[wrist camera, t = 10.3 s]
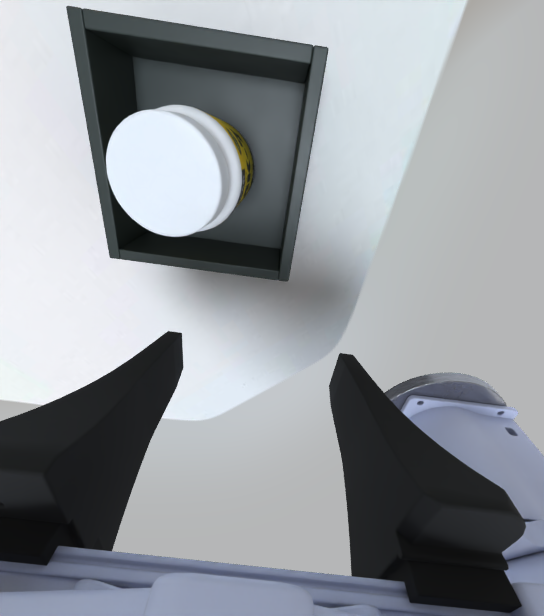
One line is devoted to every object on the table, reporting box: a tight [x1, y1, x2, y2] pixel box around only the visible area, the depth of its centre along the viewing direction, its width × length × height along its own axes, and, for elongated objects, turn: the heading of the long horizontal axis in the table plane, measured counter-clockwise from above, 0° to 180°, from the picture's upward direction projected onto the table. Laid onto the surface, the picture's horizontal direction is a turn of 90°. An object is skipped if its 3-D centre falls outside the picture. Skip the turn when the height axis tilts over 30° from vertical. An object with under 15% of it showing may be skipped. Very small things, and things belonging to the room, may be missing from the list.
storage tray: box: [66, 6, 328, 281], centre depth 15 cm, size 10×10×5 cm
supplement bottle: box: [106, 105, 254, 237], centre depth 13 cm, size 5×5×8 cm
